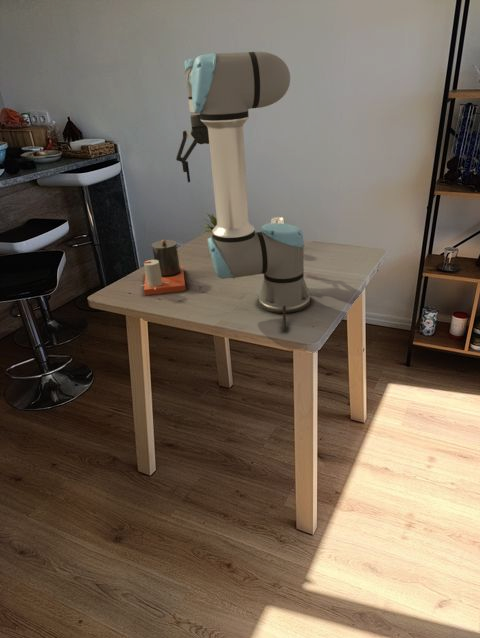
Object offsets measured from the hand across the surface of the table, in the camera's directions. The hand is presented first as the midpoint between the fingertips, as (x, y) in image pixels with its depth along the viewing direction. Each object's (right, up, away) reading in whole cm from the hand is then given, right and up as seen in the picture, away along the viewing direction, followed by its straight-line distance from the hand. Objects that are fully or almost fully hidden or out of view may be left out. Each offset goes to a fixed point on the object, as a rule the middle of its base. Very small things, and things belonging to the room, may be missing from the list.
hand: (208, 180), depth 169 cm
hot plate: (-14, -37, -6) cm, 40 cm away
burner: (-13, -33, -4) cm, 36 cm away
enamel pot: (-13, -33, -4) cm, 36 cm away
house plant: (+3, -21, +18) cm, 28 cm away
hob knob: (-16, -38, -12) cm, 43 cm away
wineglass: (+25, -21, +16) cm, 37 cm away
